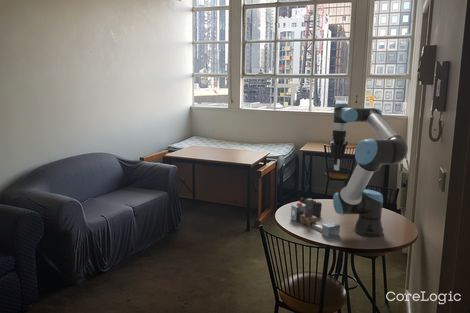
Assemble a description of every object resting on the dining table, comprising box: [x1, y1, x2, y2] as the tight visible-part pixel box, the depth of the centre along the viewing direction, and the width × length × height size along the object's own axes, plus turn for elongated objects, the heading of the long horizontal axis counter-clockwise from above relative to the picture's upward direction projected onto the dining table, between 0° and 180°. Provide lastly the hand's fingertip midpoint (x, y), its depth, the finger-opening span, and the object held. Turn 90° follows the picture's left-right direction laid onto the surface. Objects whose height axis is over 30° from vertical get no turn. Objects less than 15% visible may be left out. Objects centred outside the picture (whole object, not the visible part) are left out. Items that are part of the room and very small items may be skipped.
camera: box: [298, 197, 323, 218], centre depth 253 cm, size 14×11×10 cm
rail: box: [290, 203, 341, 239], centre depth 229 cm, size 32×8×9 cm, turn 30°
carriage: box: [300, 197, 318, 228], centre depth 233 cm, size 8×6×15 cm
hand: (336, 169), depth 238 cm, fingers closed
